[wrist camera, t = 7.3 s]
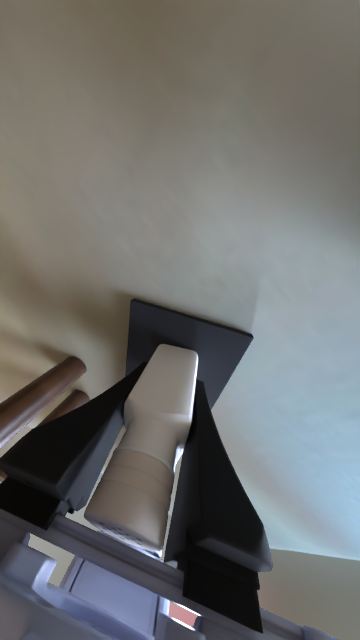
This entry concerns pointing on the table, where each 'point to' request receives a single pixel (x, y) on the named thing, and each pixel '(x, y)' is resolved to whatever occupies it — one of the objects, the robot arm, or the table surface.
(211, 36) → the table surface
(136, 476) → the pepper shaker
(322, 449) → the table surface
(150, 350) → the mat
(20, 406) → the walnut dowel
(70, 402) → the walnut dowel
